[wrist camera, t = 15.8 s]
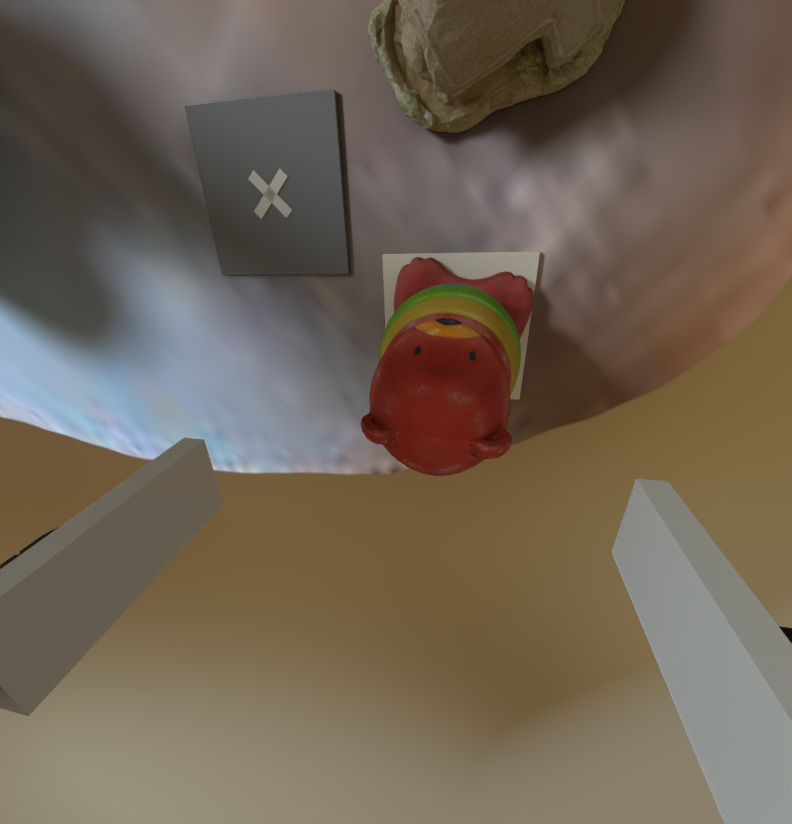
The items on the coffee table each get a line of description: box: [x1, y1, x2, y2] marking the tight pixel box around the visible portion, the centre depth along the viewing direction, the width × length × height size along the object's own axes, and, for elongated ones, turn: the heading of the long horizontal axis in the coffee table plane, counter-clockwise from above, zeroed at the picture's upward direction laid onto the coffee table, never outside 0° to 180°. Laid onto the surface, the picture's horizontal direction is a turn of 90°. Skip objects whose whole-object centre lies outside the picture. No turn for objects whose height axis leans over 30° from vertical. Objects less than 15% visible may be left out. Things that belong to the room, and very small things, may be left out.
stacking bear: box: [361, 257, 534, 476], centre depth 22 cm, size 11×10×18 cm
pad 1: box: [185, 90, 350, 275], centre depth 29 cm, size 12×12×1 cm
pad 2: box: [382, 251, 540, 400], centre depth 31 cm, size 12×12×1 cm
